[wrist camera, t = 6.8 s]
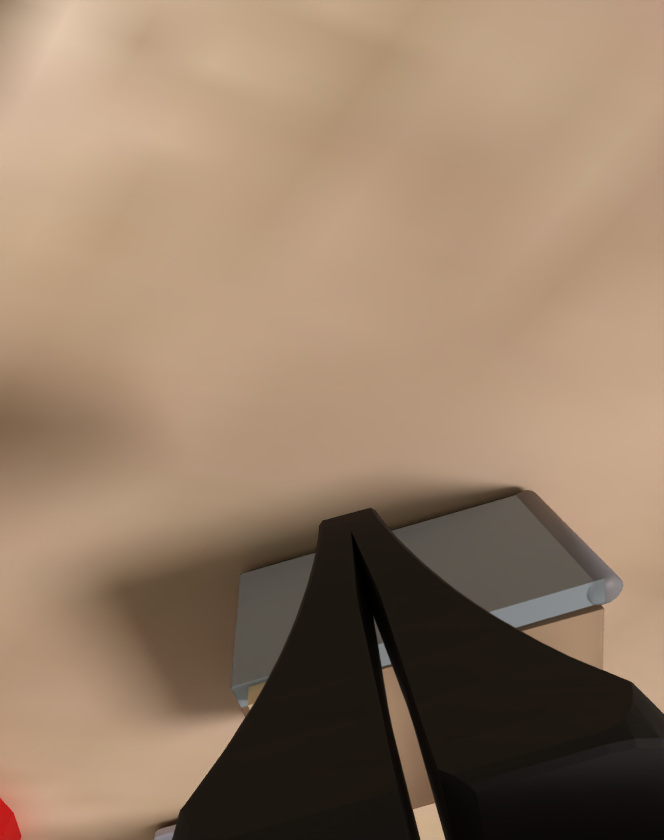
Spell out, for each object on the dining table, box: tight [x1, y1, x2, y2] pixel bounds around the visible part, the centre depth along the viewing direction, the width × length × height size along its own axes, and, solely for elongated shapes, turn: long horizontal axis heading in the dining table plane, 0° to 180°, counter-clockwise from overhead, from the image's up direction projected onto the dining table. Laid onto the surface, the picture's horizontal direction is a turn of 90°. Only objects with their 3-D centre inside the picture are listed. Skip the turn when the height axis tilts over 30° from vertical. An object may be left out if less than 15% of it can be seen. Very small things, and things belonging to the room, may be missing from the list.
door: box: [231, 490, 623, 709], centre depth 16 cm, size 13×1×6 cm, turn 104°
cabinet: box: [241, 605, 604, 809], centre depth 19 cm, size 12×8×5 cm, turn 103°
